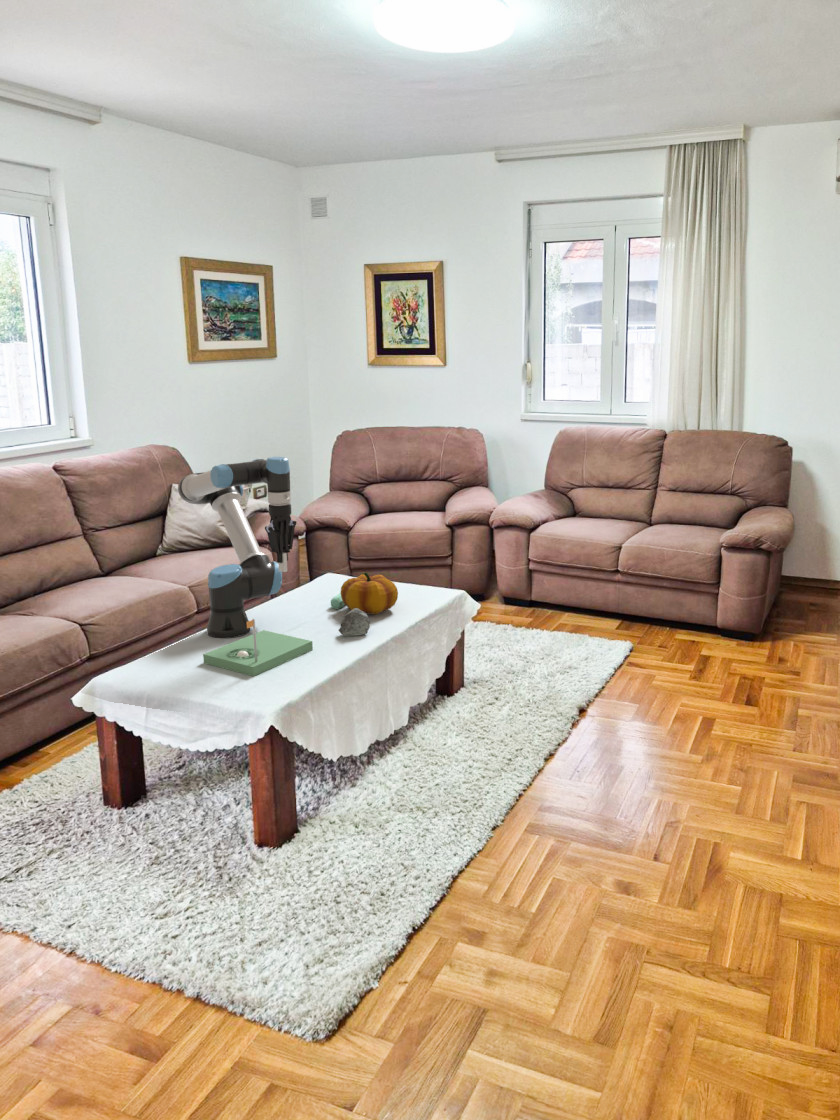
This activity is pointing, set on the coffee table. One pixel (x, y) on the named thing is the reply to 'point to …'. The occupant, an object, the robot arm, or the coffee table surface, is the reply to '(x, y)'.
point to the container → (337, 602)
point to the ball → (242, 654)
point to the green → (258, 652)
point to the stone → (354, 623)
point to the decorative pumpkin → (369, 593)
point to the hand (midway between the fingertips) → (283, 571)
